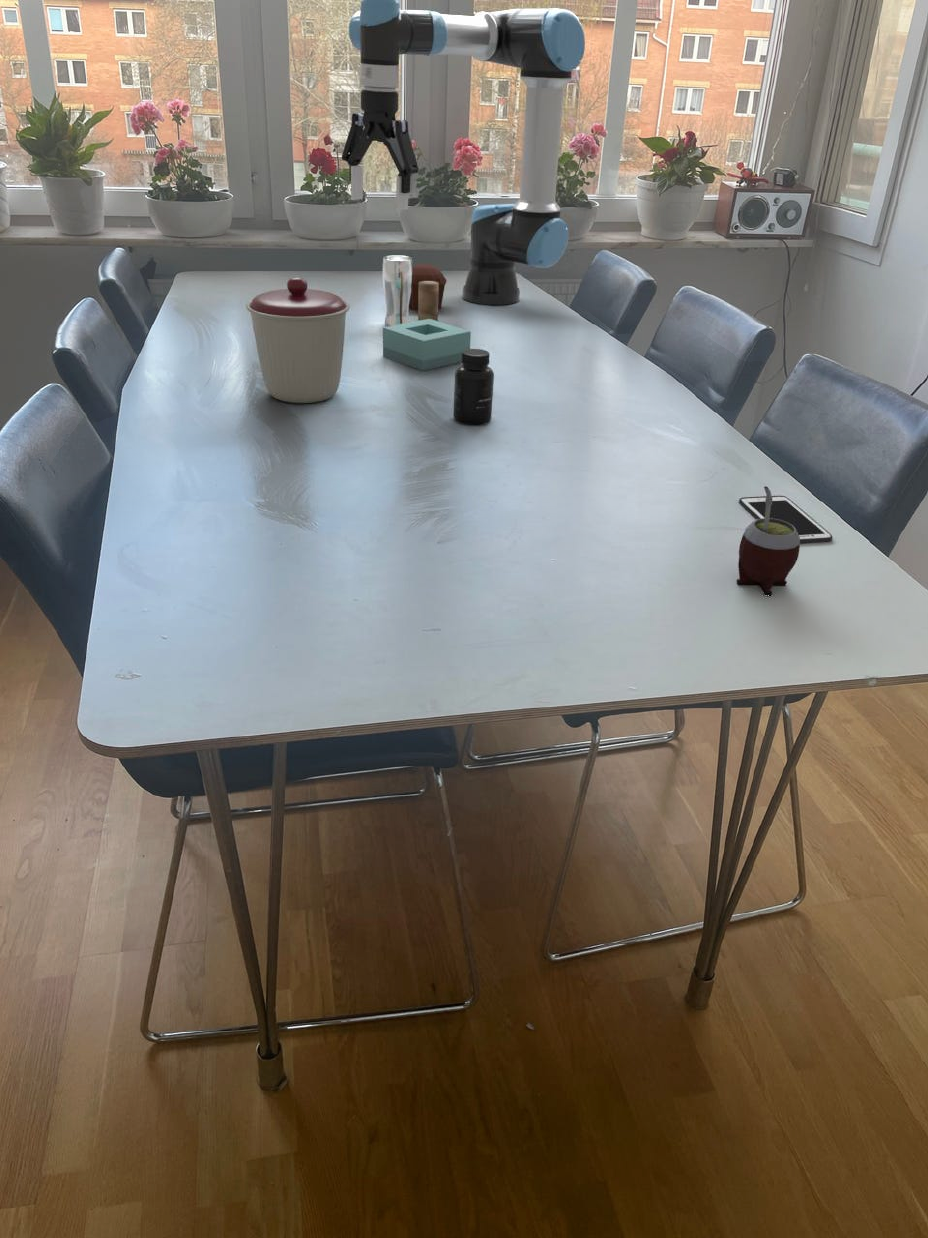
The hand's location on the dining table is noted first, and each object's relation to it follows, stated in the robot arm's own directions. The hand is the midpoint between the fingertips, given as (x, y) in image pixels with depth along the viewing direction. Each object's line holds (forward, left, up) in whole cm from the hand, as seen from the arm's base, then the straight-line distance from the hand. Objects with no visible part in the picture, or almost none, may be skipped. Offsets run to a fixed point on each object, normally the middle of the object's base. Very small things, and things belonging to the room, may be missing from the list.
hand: (379, 204), depth 198 cm
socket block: (+2, +19, -28) cm, 33 cm away
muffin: (-28, -16, -28) cm, 42 cm away
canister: (+37, +24, -28) cm, 52 cm away
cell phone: (+15, +111, -28) cm, 116 cm away
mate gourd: (+35, +120, -28) cm, 128 cm away
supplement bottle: (+21, +53, -28) cm, 63 cm away
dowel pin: (-9, +7, -28) cm, 30 cm away
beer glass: (-11, -6, -28) cm, 31 cm away
